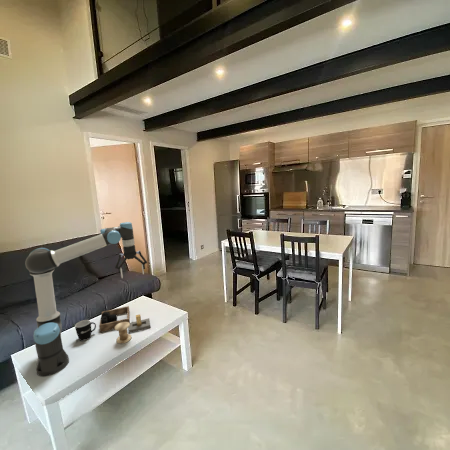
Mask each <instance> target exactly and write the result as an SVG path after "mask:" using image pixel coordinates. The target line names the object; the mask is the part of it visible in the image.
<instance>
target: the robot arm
mask: <svg viewBox="0 0 450 450" xmlns="http://www.w3.org/2000/svg"><path fill="white" fill-rule="evenodd" d="M99 231H100V234H98V235H95V236H92V237H89V238H87V239H84V240H81V241H78V242H75V243H73V244H70V245H68V246H64V247H61V248H59V249H56V250H53V249H51V250H50V249H48V248H46V247H39V248H36V249H33V250H32V251H30V253H29V255H28V256H27V257H26V259H25V262H24V263H25V264H24V265H25V268H26V269H27V270H28V271H29V272H28V273H29V276H31V277H33V283H34V289H35V297H36V303H37V311H38V316H37V317H36V319H35V320H36V329H35V330H34V331H33V337H32V338H33V342H34V345H35V351H36V355H37V363H36V368H35V370H36V375H38V376H40V377H48V376H51V375H53V374H56V373H58V372H60V371H62V370H63V369H64V368H66V366H67V365H68V364H69V362H70V358H69V355H68V353H67V352H66V351H65V349H64V347H63V342H62V327H63V320H62V317H61V312H60V311H57V304H56V297H55V296H56V295H55V289H54V281H53V272H54V271H55V268H58V267H59V266H60V265H61V264H62V263H65V262H69V261H70V260H73V259H76V258H79V257H81V256H84V255H85V254H86V255H87V254H89V253H91V252H94V251H96V250H99V249H102V248H105V247H106V246H110V245H114V244H118V243H120V241H121V243H122V250H123V253H119V254H118V258H117V261H116V264H115V266H114V268H115V269H117V270H118V274H120V277H121V279H123V278H124V275H123V269H122V266H123V265H124V264H125V262H126V260H134V259H135V260H136V261H138V262H139V263H140V264H141V271H142V275H145V272H144V270H145V269H146V264H148V262H147V260H146V258H145V257H144V256H143V254H142V252H141V250H138V251H136V244H135V236H134V228H133V223H132V222H130V221H125V222H121V223H120V224H119V226H114V227H105V228H101V229H100V230H99ZM137 255H139V256H140V258H141V259H142V260H141V259H140V258H139V257H138V256H137ZM123 257H124V258H123ZM122 258H123V259H122ZM121 259H122V261H121ZM120 261H121V263H120Z"/></svg>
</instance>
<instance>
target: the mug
mask: <svg viewBox="0 0 450 450" xmlns="http://www.w3.org/2000/svg"><path fill="white" fill-rule="evenodd" d="M92 325H94V328H93V329H92ZM74 328H75V332H76V335H77V337H78V340H80V341H86V340H88V339H90V338H91V336H92V333H93V332H94V331H95V330H96V328H97V324H96V323H95V322H94V321H93V322H92V321H91V320H90V319H84V320H81V321H78V322H77V323H76V324H75V325H74Z"/></svg>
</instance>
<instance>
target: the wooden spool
mask: <svg viewBox="0 0 450 450" xmlns="http://www.w3.org/2000/svg"><path fill="white" fill-rule="evenodd" d="M130 323H131V322H130ZM130 323H129V322H121V323H119V324H117V325H116V326H115V329H114V330H115V331H117V332H118V337H117V338H116V344H120V345H122V344H126V343H129V342H130V341H131V339H132V335H131V333H129V332H128V329H129V326H130Z"/></svg>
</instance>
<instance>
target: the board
mask: <svg viewBox="0 0 450 450" xmlns="http://www.w3.org/2000/svg"><path fill="white" fill-rule="evenodd" d="M141 323H142V325H140V326H137V322H136V321H132V322H131V321H130V326H129V327H128V334H131V333H135V332H139V331H144V330H147V329H151V328H152V327H151V320H150V317H149V318H145V319H141Z"/></svg>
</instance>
